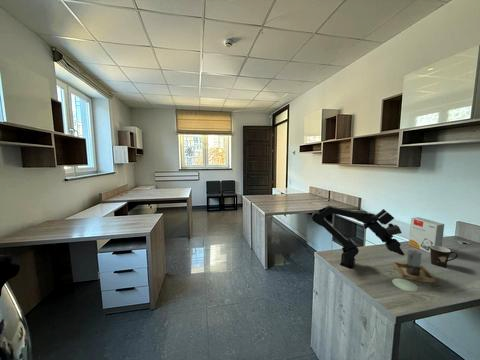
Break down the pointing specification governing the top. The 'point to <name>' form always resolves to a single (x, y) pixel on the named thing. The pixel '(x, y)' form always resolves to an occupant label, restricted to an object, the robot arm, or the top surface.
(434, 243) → the hard drive box
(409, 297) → the top surface
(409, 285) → the drink coaster
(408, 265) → the grey round cylinder
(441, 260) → the coffee mug
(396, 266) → the light wooden tray
